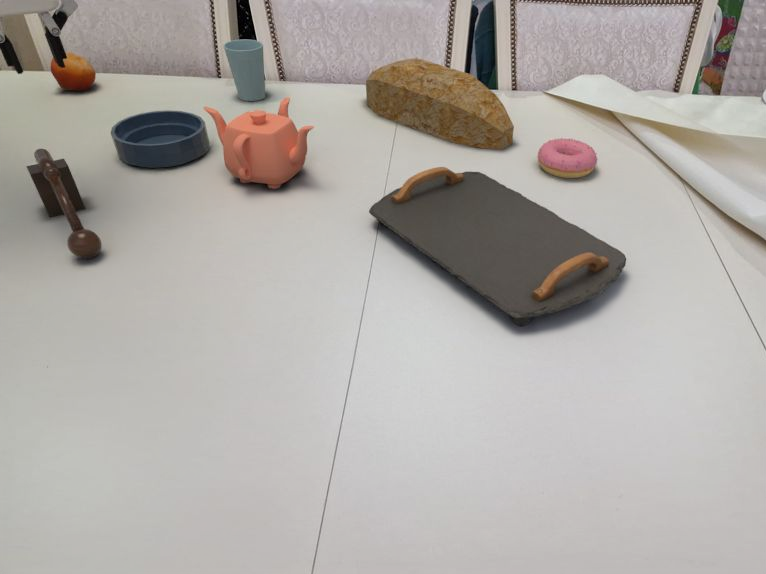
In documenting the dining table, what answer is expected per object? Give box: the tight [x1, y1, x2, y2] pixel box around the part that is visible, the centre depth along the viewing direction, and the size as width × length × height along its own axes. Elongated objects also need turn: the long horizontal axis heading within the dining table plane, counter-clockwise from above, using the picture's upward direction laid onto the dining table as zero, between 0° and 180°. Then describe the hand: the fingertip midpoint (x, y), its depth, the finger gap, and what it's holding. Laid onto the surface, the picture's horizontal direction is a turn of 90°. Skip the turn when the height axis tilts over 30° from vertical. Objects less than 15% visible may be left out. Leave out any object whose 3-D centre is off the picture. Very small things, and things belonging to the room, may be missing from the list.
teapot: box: [203, 97, 315, 189], centre depth 102 cm, size 14×14×11 cm
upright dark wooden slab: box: [25, 158, 86, 218], centre depth 92 cm, size 3×5×7 cm, turn 127°
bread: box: [365, 57, 515, 151], centre depth 124 cm, size 36×11×10 cm, turn 53°
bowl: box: [110, 109, 211, 169], centre depth 109 cm, size 15×15×4 cm
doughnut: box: [536, 137, 598, 179], centre depth 112 cm, size 11×11×4 cm
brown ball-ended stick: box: [33, 148, 103, 260], centre depth 87 cm, size 20×4×9 cm, turn 37°
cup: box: [223, 38, 267, 102], centre depth 129 cm, size 8×8×10 cm
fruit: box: [50, 52, 97, 94], centre depth 129 cm, size 8×8×8 cm
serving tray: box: [368, 166, 627, 327], centre depth 90 cm, size 39×23×6 cm, turn 41°
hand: (39, 66), depth 86 cm, fingers open, 4 cm apart
